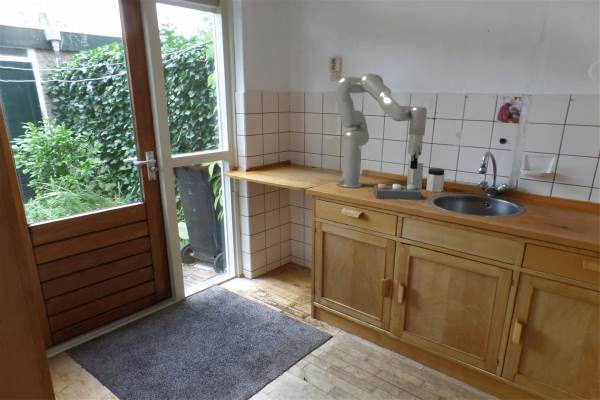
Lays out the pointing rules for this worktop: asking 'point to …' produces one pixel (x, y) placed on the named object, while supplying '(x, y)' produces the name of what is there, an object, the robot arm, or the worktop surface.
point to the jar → (435, 180)
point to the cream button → (396, 187)
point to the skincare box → (415, 175)
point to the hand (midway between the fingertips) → (413, 168)
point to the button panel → (396, 193)
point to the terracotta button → (382, 186)
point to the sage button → (411, 187)
